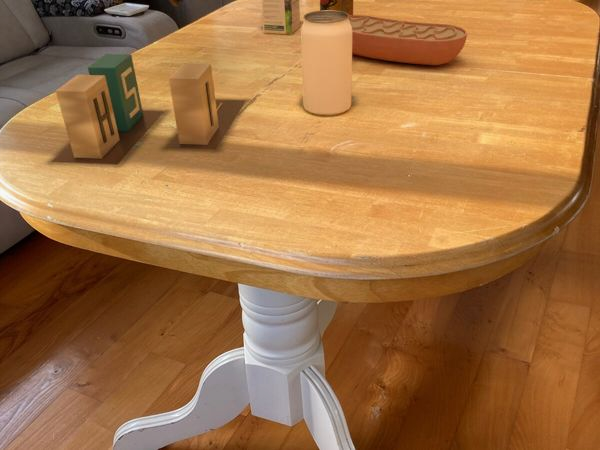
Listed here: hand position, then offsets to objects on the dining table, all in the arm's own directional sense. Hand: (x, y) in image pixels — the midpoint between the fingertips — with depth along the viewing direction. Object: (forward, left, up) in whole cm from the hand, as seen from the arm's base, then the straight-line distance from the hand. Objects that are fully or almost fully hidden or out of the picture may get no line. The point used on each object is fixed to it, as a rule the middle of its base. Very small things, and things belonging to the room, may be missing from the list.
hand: (143, 1), depth 74 cm
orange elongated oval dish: (+31, +21, -14) cm, 40 cm away
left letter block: (-2, -13, -14) cm, 19 cm away
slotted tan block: (+9, -8, -14) cm, 19 cm away
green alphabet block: (-2, -9, -13) cm, 16 cm away
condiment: (+21, +37, -14) cm, 45 cm away
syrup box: (+10, +37, -14) cm, 41 cm away
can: (+23, 0, -14) cm, 27 cm away
